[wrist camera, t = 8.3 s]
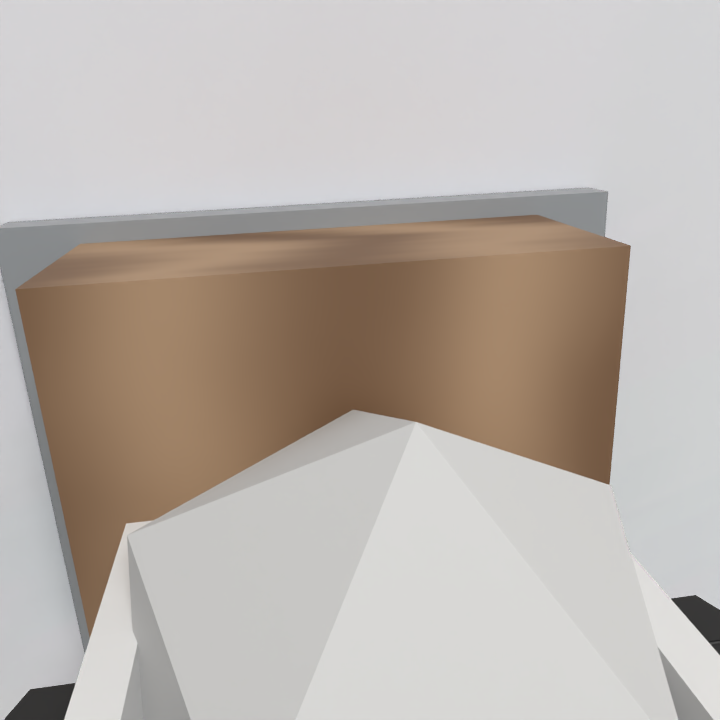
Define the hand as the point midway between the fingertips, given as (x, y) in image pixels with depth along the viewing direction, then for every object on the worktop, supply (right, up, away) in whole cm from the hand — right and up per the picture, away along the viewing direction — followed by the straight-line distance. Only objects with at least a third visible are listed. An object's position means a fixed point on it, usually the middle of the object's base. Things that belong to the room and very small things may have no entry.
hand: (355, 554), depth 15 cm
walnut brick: (-1, +2, +5) cm, 6 cm away
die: (0, 0, +1) cm, 1 cm away
